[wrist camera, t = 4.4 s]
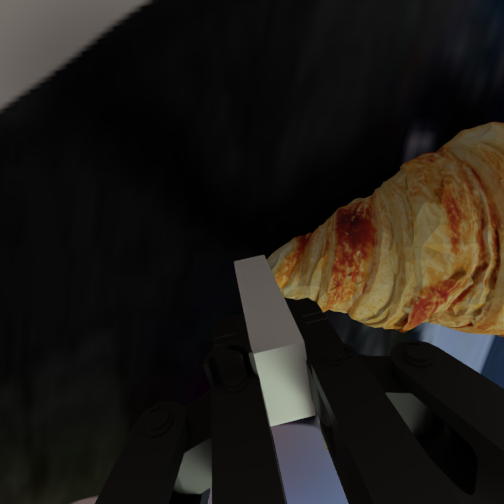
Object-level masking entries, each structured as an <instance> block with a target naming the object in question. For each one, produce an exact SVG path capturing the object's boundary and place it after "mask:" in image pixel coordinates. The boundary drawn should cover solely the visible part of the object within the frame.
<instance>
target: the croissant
mask: <svg viewBox="0 0 504 504" xmlns="http://www.w3.org/2000/svg"><path fill="white" fill-rule="evenodd" d="M267 262H268V264H269V266H270V269H271V271H272V273H273V275H274V277H275V279H276V282H277V284H278V286H279V288H280V290H281V292H282V295H283V296H284V297H286V298H292V299H295V300H299V299H303V298H307V297H308V298H310V299H311V300H313V301H315V302H317V303H318V305H319V306H320V308H321V310H322V312H325V311H327V310H329V309H330V310H332V311H339V312H343V313H348V314H349V315H350V317H351V318H352V319H354V320H357V321H359V322H362V323H364V324H365V325H368V326H371V327H373V328H376V327H383V328H384V329H395V330H398V329H400V331H399V332H403V333H404V332H406V331H408V330H410V329H412V328H414V327H416V326H417V325H419V324H420V323H423V322H429V323H434V324H439V325H442V326H445V327H448V328H451V329H454V330H458V331H462V332H466V333H474V334H492V335H499V336H502V337H504V123H500V122H491V123H487V124H484V125H480V126H477V127H474V128H471V129H466V130H462V131H460V132H459V133H458V134H457V135H456V136H455V137H454V138H453V139H452V140H450V141H449V142H448V143H446V144H445V145H443V146H442V147H441V148H440V149H439V150H438V151H437V152H427V153H424V154H421V155H420V156H418V157H417V158H415V159H412V160H410V161H407V162H405V163H404V164H403V165H402V166H401V167H400V171H399V172H398V173H397V174H395V175H394V176H393V177H392V178H390V179H388V180H387V181H385V182H383V184H382V185H381V187H380V188H377V189H375V192H374V193H373V194H372V195H371V196H369V197H367V198H357V199H354V200H353V201H352V202H350V203H349V204H348V205H346V206H343V207H340V208H338V209H337V210H336V212H335V213H334V214H333V215H332V216H331V217H330V218H329V219H328V220H326V222H325V223H324V224H323V225H319V227H318V228H317V229H316V230H315V232H314V233H308V234H307V235H302V236H298V237H295V238H293V239H292V240H291V241H290V242H288V243H287V244H285V245H283V246H282V247H280V248H279V249H278V250H276V251H275V252H274V253H272V254H271V255H270V257H269V258H268V259H267Z"/></svg>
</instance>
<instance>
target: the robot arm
mask: <svg viewBox="0 0 504 504" xmlns="http://www.w3.org/2000/svg"><path fill="white" fill-rule="evenodd" d="M234 265H235V270H236V275H237V280H238V285H239V290H240V295H241V300H242V305H243V310H244V313H243V314H239V315H235V316H231V317H227V318H222V319H219V320H218V322H217V323H216V325H215V327H214V349H213V350H212V351H210V353H209V354H208V355H207V356H206V357H205V361H204V364H203V365H204V368H205V371H206V374H207V377H208V381H209V384H210V387H211V389H210V390H209V391H208V393H207V394H205V395H204V396H203V397H202V398H201V399H199V400H198V401H196V402H194V403H192V404H191V405H189V406H187V407H185V408H183V407H182V406H181V405H179V404H178V403H175V402H164V403H159V404H157V405H155V406H153V407H151V408H149V409H148V410H147V411H146V412H145V413H143V414H142V415H141V416H140V418H139V419H138V420H137V422H136V423H135V425H134V427H133V429H132V431H131V433H130V435H129V437H128V439H127V441H126V443H125V445H124V447H123V449H122V451H121V453H120V455H119V457H118V459H117V461H116V463H115V465H114V467H113V469H112V471H111V473H110V474H109V476H108V478H107V480H106V482H105V484H104V486H103V488H102V490H101V492H100V494H99V496H98V498H97V500H96V503H95V504H208V498H209V494H210V487H212V504H287V500H286V496H285V492H284V486H283V482H282V477H281V472H280V468H279V463H278V458H277V454H276V449H275V444H274V440H273V436H272V431H271V426H275V425H279V424H282V423H286V422H290V421H294V420H298V419H302V418H306V417H310V416H314V415H316V414H315V408H316V411H317V414H318V416H319V420H320V426H321V433H322V439H323V446H324V450H326V449H328V450H329V453H330V456H331V458H332V461H333V464H334V466H335V469H336V471H337V474H338V477H339V479H340V482H341V485H342V487H343V490H344V492H345V495H346V498H347V500H348V503H349V504H504V389H503V388H502V387H500V386H498V385H497V384H495V383H494V382H492V381H490V380H489V379H487V378H486V377H484V376H483V375H481V374H479V373H478V372H476V371H475V370H473V369H471V368H470V367H468V366H467V365H465V364H463V363H462V362H460V361H459V360H457V359H456V358H454V357H452V356H451V355H449V354H448V353H446V352H444V351H443V350H441V349H440V348H438V347H436V346H434V345H432V344H430V343H427V342H422V341H404V342H401V343H398V344H397V345H395V346H394V347H393V348H392V350H391V353H390V356H366V355H361V354H358V352H357V351H356V350H355V349H354V348H353V347H352V346H349V345H347V344H345V343H343V342H342V341H341V339H340V337H339V336H338V334H337V333H336V331H335V330H334V328H333V327H332V325H331V324H330V322H329V320H328V319H327V317H326V316H325V314H324V313H323V312H322V310H321V308H320V306H319V305H318V303H317V302H315V301H313V300H311V299H310V298H308V297H307V298H303V299H299V300H294V301H290V302H286V301H285V299H284V297H283V295H282V292H281V290H280V288H279V286H278V284H277V282H276V279H275V277H274V275H273V273H272V271H271V269H270V266H269V264H268V262H267V260H266V258H265V256H264V255H261V256H257V257H252V258H248V259H243V260H239V261H235V262H234ZM314 406H315V407H314Z"/></svg>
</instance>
